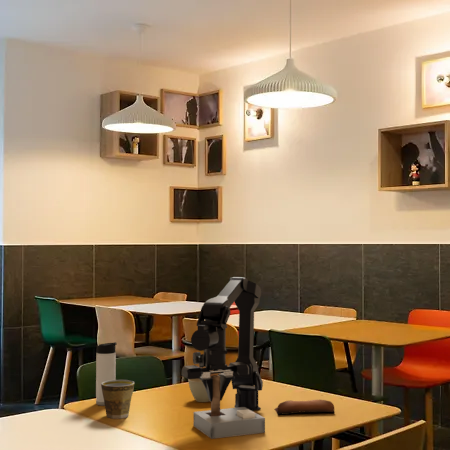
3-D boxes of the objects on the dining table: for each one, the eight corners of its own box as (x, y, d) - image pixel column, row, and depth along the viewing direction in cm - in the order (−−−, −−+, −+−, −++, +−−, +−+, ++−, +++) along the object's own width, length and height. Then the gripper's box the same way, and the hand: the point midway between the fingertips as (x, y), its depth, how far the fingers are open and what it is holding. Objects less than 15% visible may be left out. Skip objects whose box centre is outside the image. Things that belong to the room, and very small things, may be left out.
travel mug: (112, 406, 218) (112, 344, 218) (93, 405, 219) (93, 343, 220) (119, 401, 224) (119, 341, 224) (100, 401, 225) (100, 340, 226)
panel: (244, 420, 200) (244, 406, 200) (265, 432, 187) (264, 417, 187) (193, 425, 194) (193, 411, 194) (211, 438, 181) (211, 423, 181)
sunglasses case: (327, 407, 216) (330, 391, 213) (332, 423, 210) (335, 407, 207) (272, 408, 214) (274, 393, 211) (276, 425, 208) (278, 409, 205)
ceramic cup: (140, 415, 206) (141, 382, 206) (114, 422, 198) (114, 387, 199) (114, 408, 214) (114, 377, 215) (88, 414, 207) (88, 381, 207)
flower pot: (223, 399, 228) (223, 378, 228) (207, 405, 219) (207, 383, 219) (199, 395, 233) (199, 375, 233) (182, 401, 224) (182, 379, 225)
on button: (248, 416, 192) (248, 409, 192) (255, 420, 188) (255, 412, 188) (236, 417, 191) (236, 410, 191) (243, 421, 187) (243, 414, 187)
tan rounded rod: (218, 413, 193) (218, 375, 194) (221, 415, 191) (221, 376, 191) (209, 414, 192) (209, 375, 193) (213, 416, 190) (213, 377, 190)
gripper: (234, 340, 203) (234, 392, 203) (175, 343, 196) (175, 397, 196) (249, 345, 193) (249, 400, 193) (188, 349, 186) (188, 406, 185)
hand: (215, 400), depth 192 cm, fingers closed on tan rounded rod, 3 cm apart
